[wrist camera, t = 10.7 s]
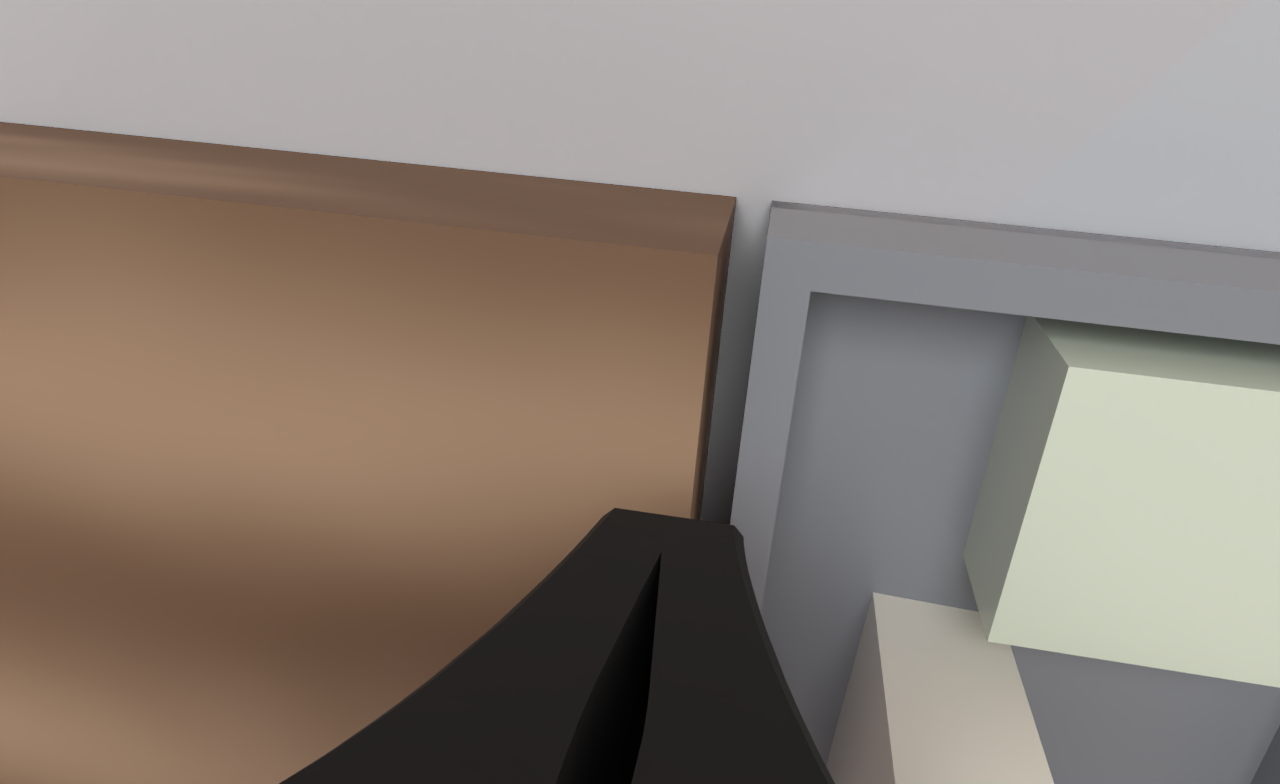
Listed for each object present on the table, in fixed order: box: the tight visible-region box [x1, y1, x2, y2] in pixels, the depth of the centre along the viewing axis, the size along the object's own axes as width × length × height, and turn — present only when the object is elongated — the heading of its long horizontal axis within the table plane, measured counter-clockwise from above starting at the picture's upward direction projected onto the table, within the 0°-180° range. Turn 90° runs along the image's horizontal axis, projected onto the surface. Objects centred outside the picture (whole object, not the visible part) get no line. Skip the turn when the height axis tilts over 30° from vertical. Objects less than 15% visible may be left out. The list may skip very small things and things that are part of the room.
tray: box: [730, 201, 1280, 784], centre depth 14 cm, size 13×10×2 cm
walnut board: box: [0, 122, 736, 784], centre depth 14 cm, size 13×12×3 cm
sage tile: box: [963, 316, 1280, 688], centre depth 12 cm, size 4×4×2 cm
